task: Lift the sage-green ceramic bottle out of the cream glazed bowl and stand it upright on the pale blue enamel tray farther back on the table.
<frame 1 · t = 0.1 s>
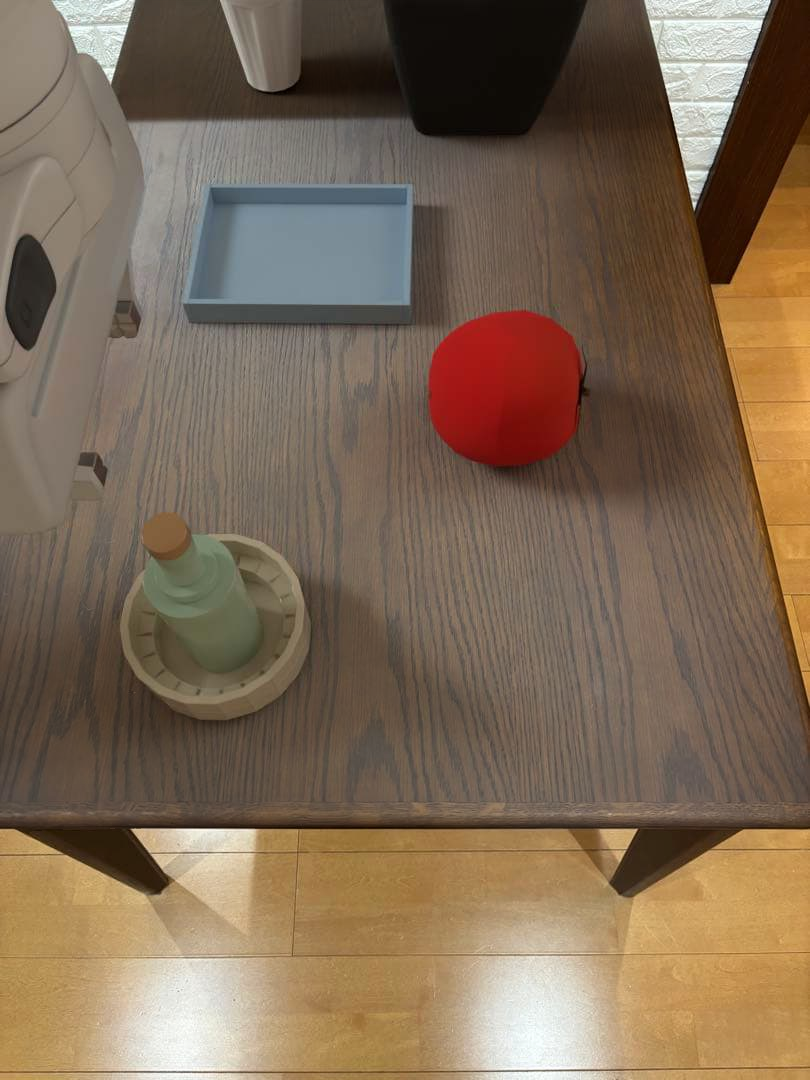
hand: (108, 402, 40), 28 cm above the table, tool pointing down, fingers open, 8 cm apart
tomato: (502, 430, 73), on the table
cup: (274, 79, 96), on the table
tray: (305, 261, 82), on the table
bottle: (224, 635, 63), point 1 cm above the table, touching bowl
flower pot: (472, 102, 93), on the table
bowl: (226, 638, 64), on the table
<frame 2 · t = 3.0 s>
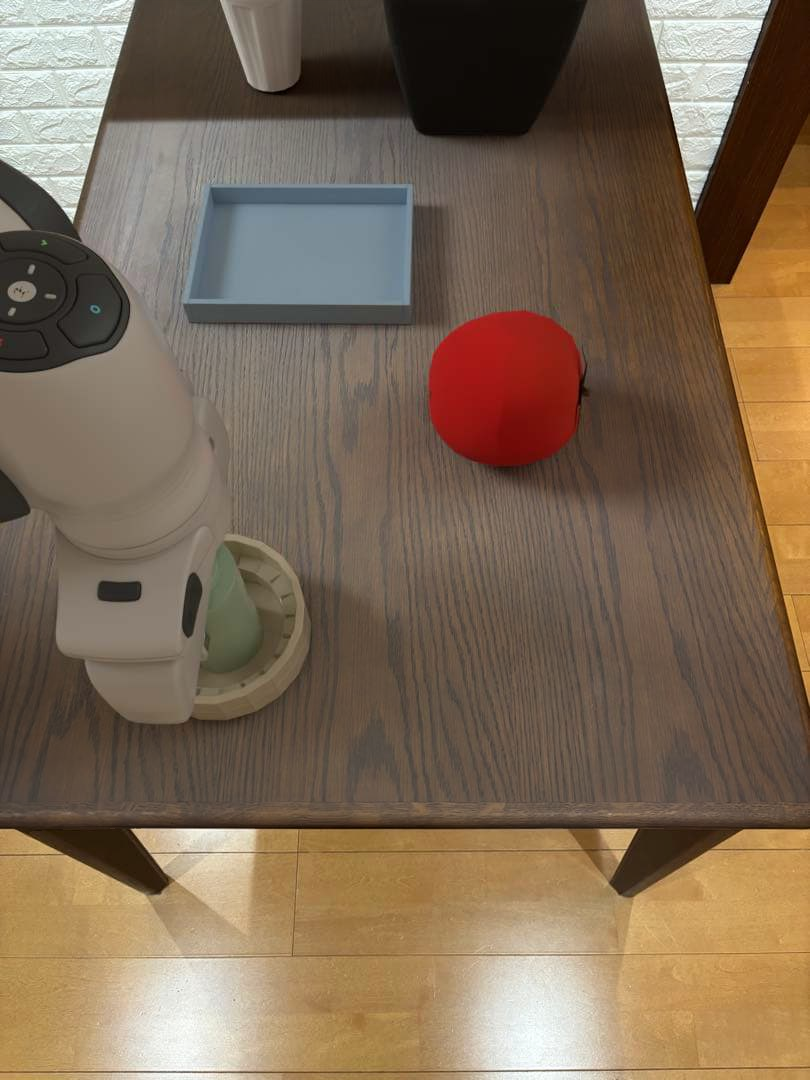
hand: (204, 601, 57), 8 cm above the table, tool pointing down, fingers closed on bottle, 6 cm apart
bottle: (224, 635, 63), point 1 cm above the table, touching bowl, gripper
everything else where it was.
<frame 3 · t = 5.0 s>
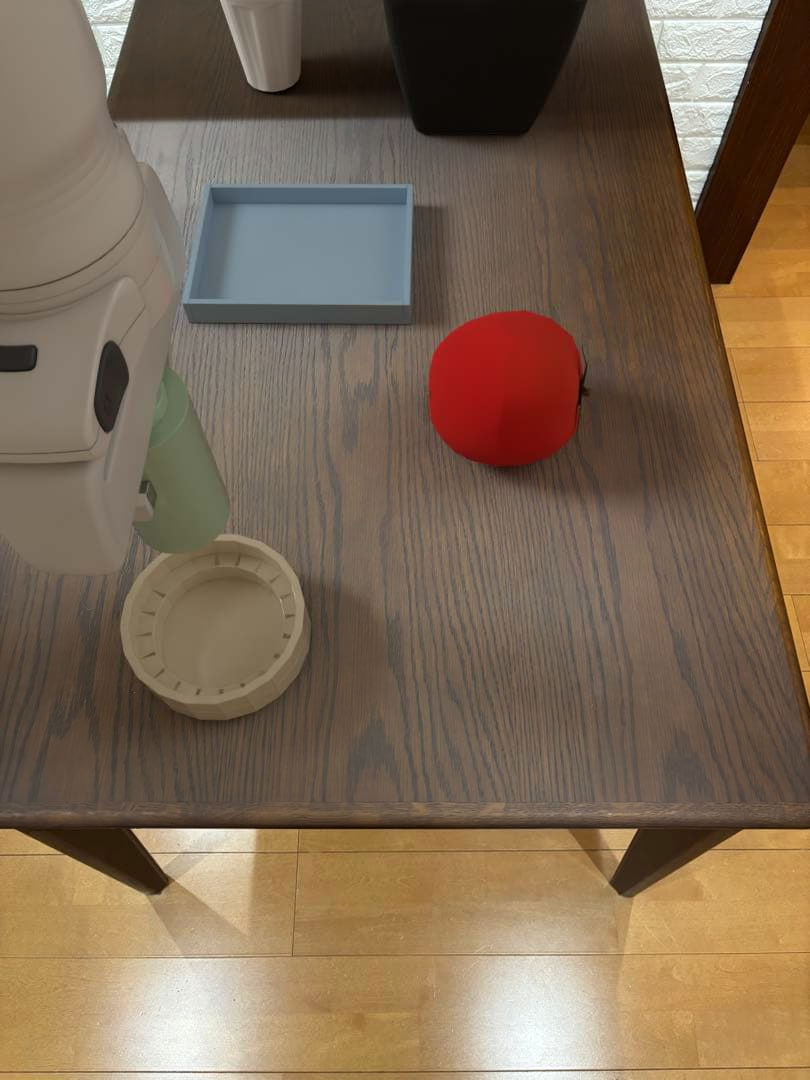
hand: (151, 452, 45), 22 cm above the table, tool pointing down, fingers closed on bottle, 6 cm apart
bottle: (182, 511, 51), point 15 cm above the table, touching gripper
everything else where it was.
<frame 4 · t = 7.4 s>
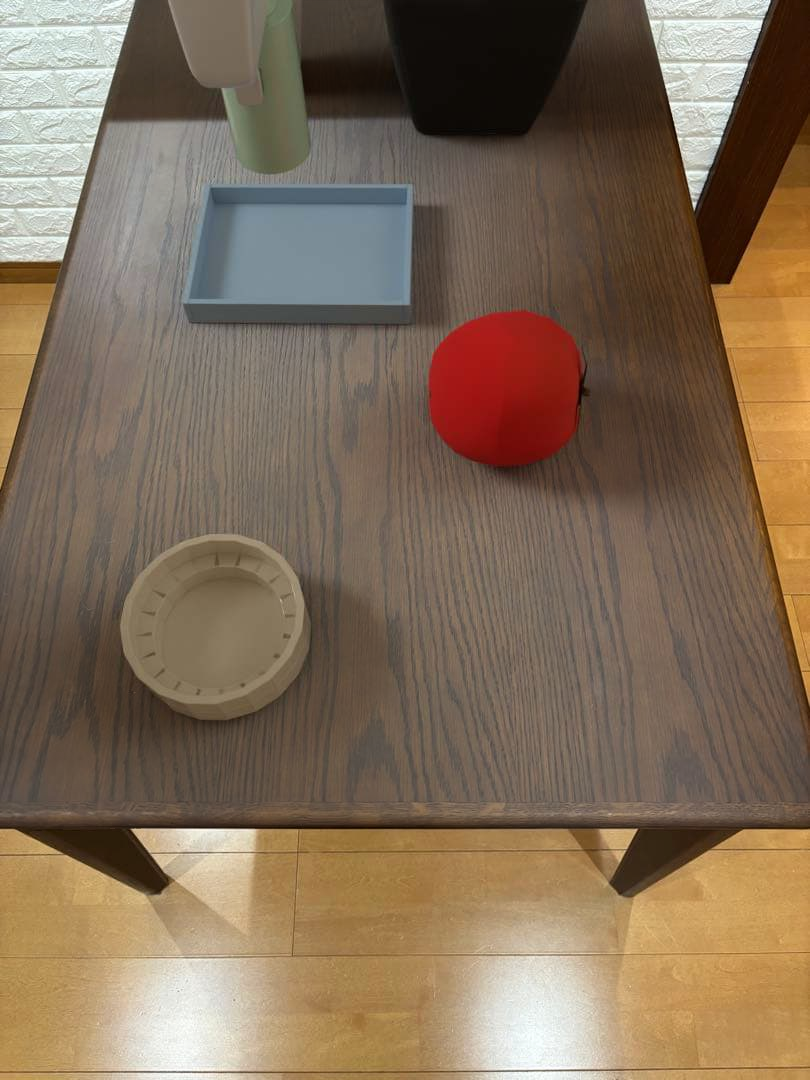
hand: (257, 66, 59), 23 cm above the table, tool pointing down, fingers closed on bottle, 6 cm apart
bottle: (273, 148, 65), point 17 cm above the table, touching gripper
everything else where it was.
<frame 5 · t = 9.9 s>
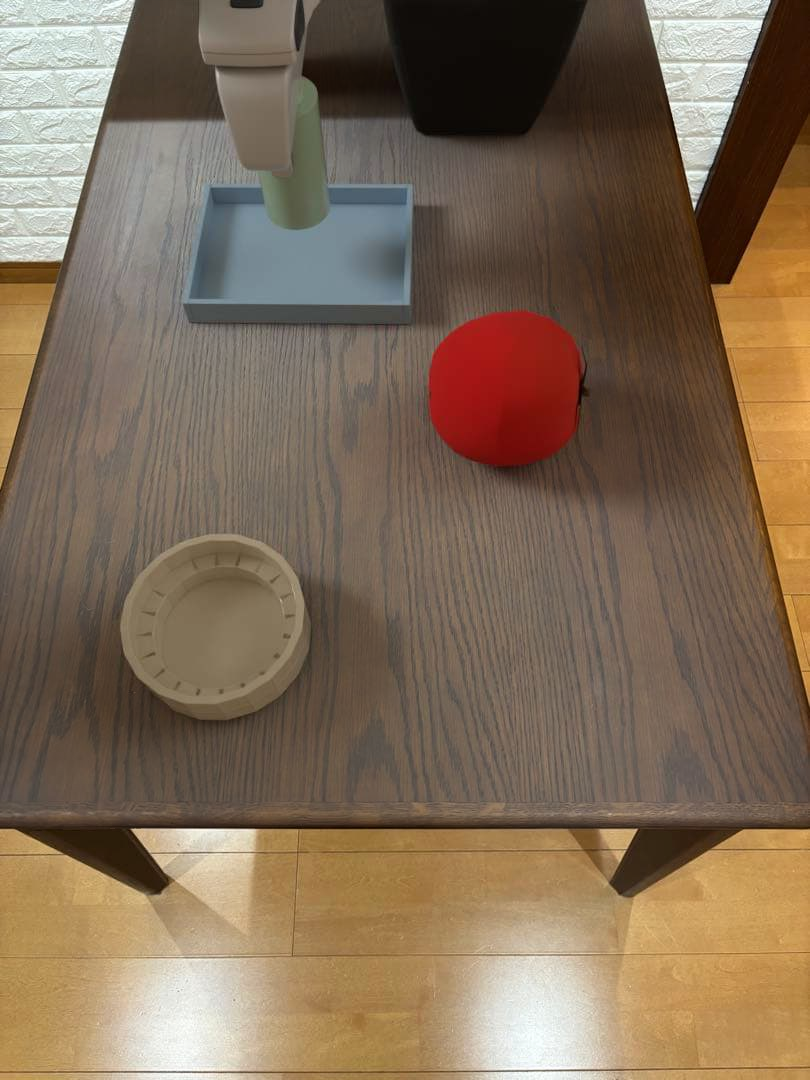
hand: (287, 143, 70), 13 cm above the table, tool pointing down, fingers closed on bottle, 6 cm apart
bottle: (298, 207, 76), point 7 cm above the table, touching gripper
everything else where it was.
when the fingers open (7 cm above the table, at t = 11.9 s): bottle stays where it is, resting on tray.
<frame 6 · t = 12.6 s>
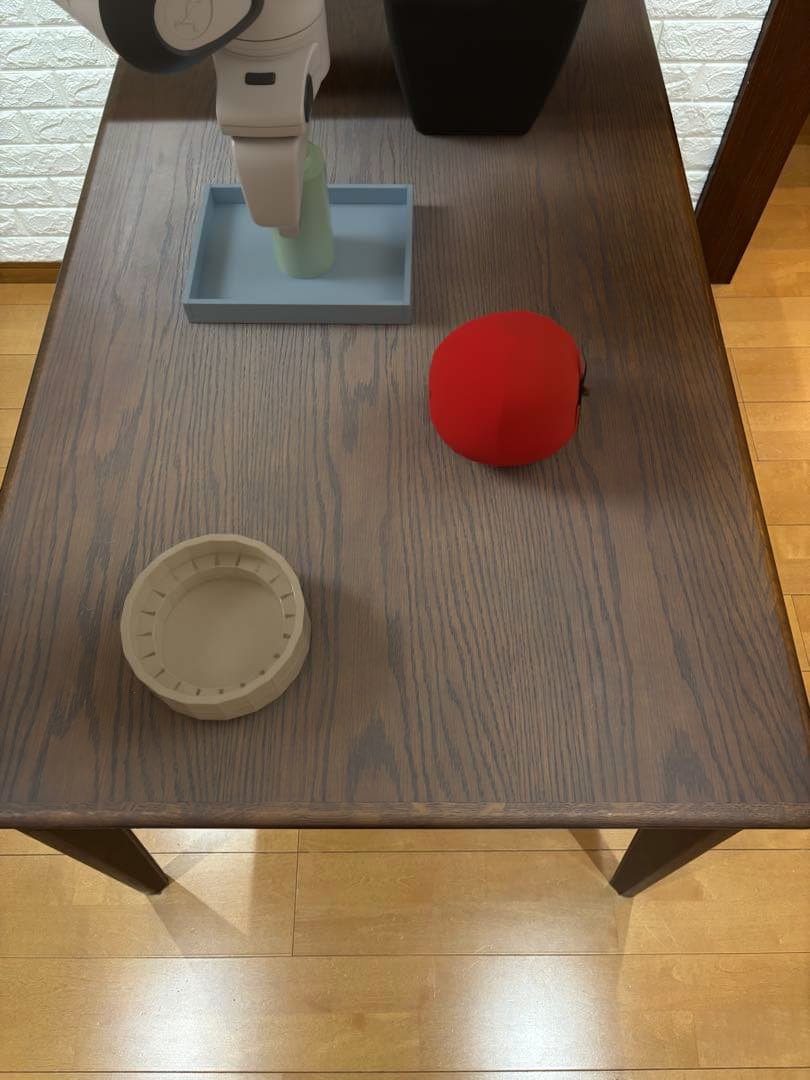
hand: (294, 195, 75), 8 cm above the table, tool pointing down, fingers open, 8 cm apart
bottle: (305, 256, 82), point 1 cm above the table, touching tray
everything else where it was.
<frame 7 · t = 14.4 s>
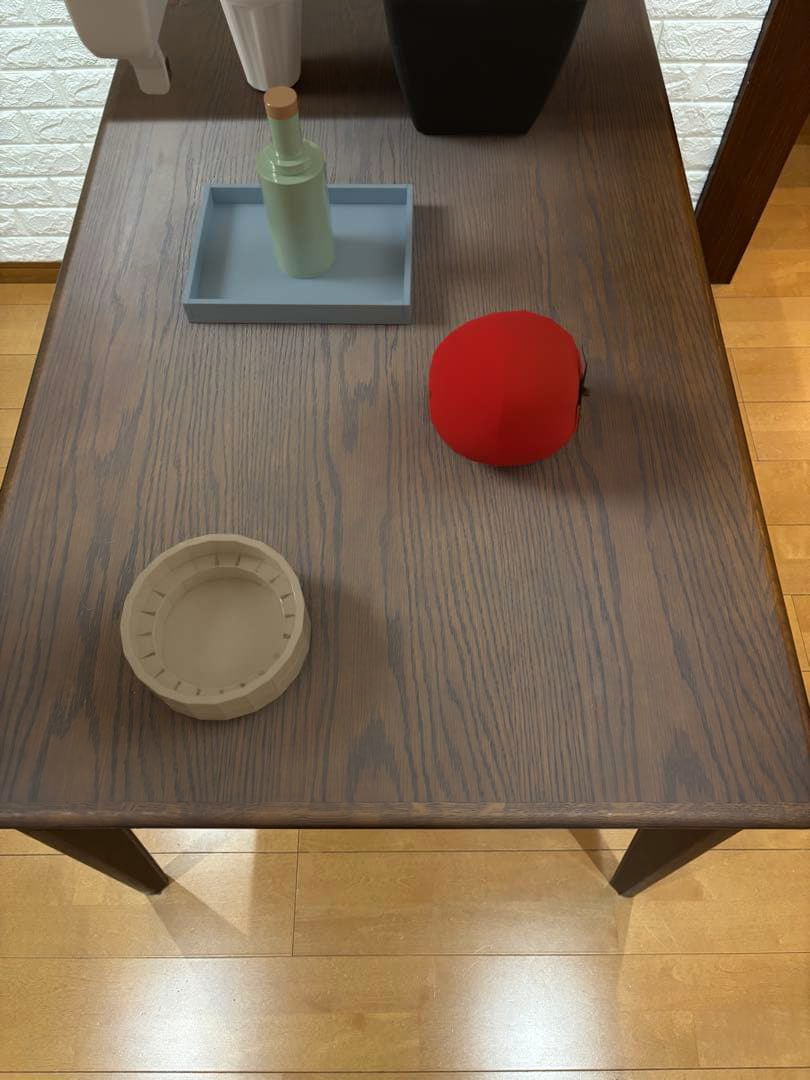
hand: (169, 42, 54), 28 cm above the table, tool pointing down, fingers open, 8 cm apart
nothing on the table moved.
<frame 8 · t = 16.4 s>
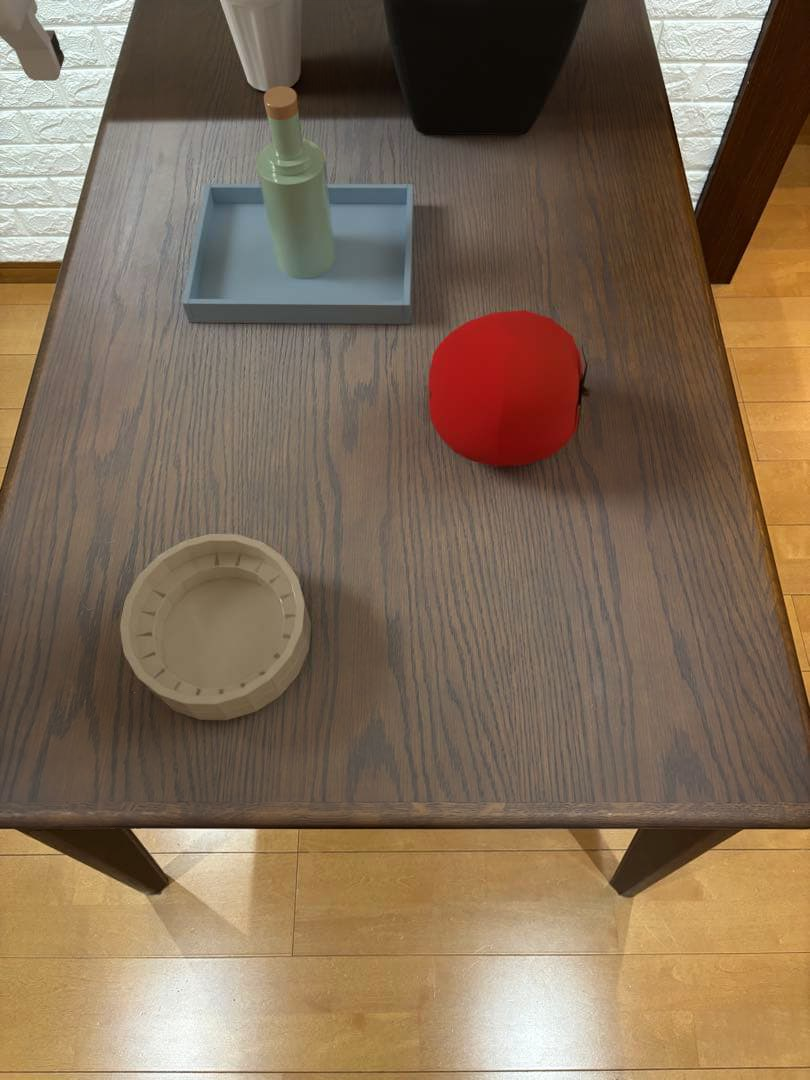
hand: (67, 18, 46), 33 cm above the table, tool pointing down, fingers open, 8 cm apart
nothing on the table moved.
at the end: bottle inside the target area in the tray (0.1 cm from its centre), point 0.6 cm above the tray's base; bottle tilted 0°; the gripper is holding nothing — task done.
